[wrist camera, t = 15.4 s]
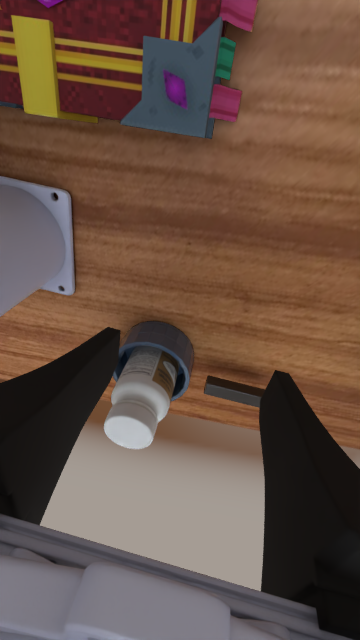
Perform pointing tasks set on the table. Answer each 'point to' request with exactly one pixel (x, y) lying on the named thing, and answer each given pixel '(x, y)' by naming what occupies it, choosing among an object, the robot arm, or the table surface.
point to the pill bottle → (141, 397)
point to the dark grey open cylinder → (164, 339)
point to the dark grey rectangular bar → (233, 391)
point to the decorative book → (123, 60)
